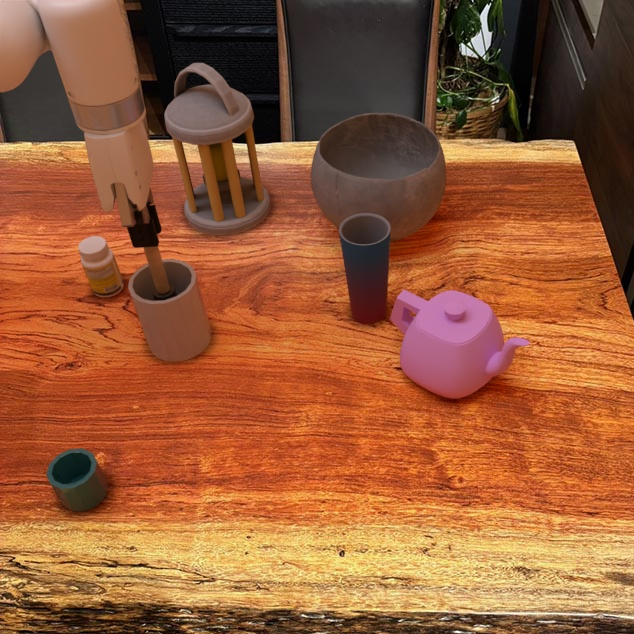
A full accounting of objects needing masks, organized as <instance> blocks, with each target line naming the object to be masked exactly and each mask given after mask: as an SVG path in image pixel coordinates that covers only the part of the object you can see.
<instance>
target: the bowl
mask: <svg viewBox="0 0 634 634" xmlns="http://www.w3.org/2000/svg"><path fill="white" fill-rule="evenodd" d="M310 182H311V183H310V184H311V189H312V194H313V196H314V199H315V202H316V203H317V206H318V208H319V209H320V211H321V212H322V214H323V216H324V217H325V218H326V219H327V220H328V221H329V222H330V223H331V224H332V225H334V227H335V228H336V229H338V230H339V227H340V225H341V223H342V222H343V221H344V220H345V219H346V218H348V217H350V216H352V215H355V214H360V213H372V214H377V215H380V216H382V217H384V218H385V219H386V220H387V221H388V222H389V224H390V226H391V235H390V243H391V242H397V241H399V240H403V239H405V238H407V237H409V236H411V235H414V233H417V232H418V231H420V230H421V229H422V228H424V227H425V226H426V225H427V224H428V223H429V222H430V221H431V220H432V218H433V217H434V216H435V214H436V213H437V212H438V210H439V207H440V206H441V203H442V200H443V198H444V195H445V190H446V185H447V166H446V157H445V153H444V150H443V147H442V143H441V141H440V139H439V138H438V136H437V135H436V134H435V132H434V131H433V130H432V129H430V127H428V125H426V124H425V123H423V122H421V121H417V120H416V119H415V118H412V117H410V116H406V115H403V114H398V113H393V112H369V113H362V114H357V115H353V116H352V117H348V118H346V119H344V120H341V121H340V122H338V123H336V124H334V125H333V126H331V127H329V128H328V129H327V130H326V131H325V132H323V134H322V135H321V136H320V138H319V140H318V143H317V145H316V147H315V149H314V152H313V155H312V161H311V167H310Z"/></svg>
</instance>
